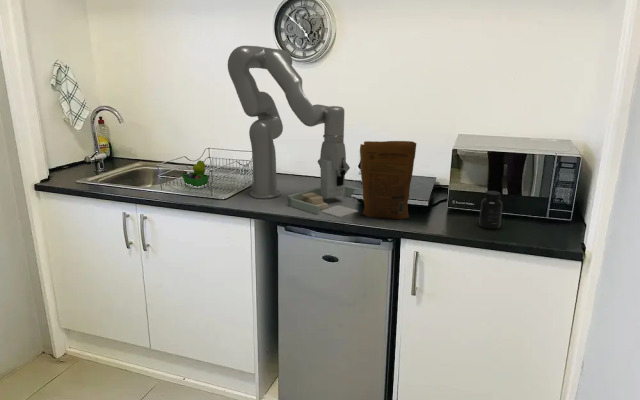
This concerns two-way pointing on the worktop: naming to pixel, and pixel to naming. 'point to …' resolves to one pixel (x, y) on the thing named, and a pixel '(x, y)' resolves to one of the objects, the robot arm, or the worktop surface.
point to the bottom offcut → (323, 206)
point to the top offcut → (312, 198)
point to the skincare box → (330, 180)
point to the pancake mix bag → (386, 177)
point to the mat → (339, 211)
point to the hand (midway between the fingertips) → (332, 183)
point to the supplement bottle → (491, 210)
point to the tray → (296, 203)
